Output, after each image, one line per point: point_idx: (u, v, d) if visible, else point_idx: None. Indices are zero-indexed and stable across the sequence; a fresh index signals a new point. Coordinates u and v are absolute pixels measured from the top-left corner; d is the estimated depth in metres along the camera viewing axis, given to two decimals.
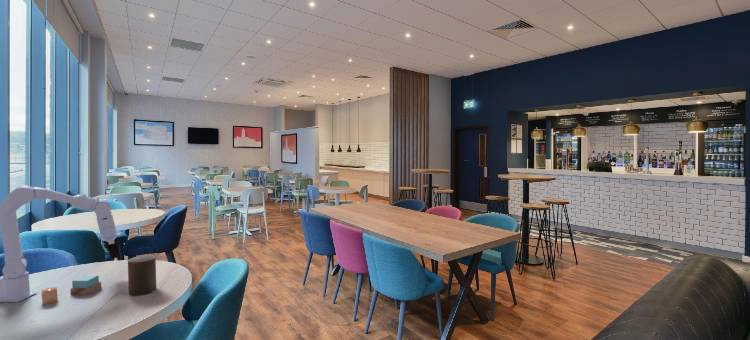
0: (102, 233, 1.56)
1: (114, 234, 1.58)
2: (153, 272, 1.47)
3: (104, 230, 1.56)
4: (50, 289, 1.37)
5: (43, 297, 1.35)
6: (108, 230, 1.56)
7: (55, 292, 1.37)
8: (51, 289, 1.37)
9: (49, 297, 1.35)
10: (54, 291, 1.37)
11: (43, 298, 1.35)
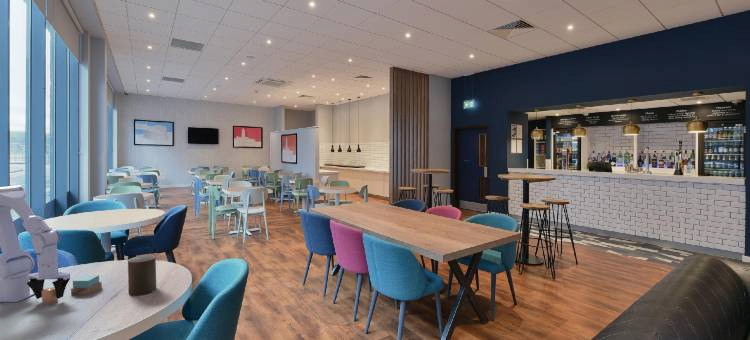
0: None
1: (38, 274, 1.34)
2: (153, 272, 1.47)
3: None
4: (50, 289, 1.37)
5: (43, 297, 1.35)
6: None
7: (55, 292, 1.37)
8: (51, 289, 1.37)
9: (49, 297, 1.35)
10: (54, 291, 1.37)
11: (43, 298, 1.35)
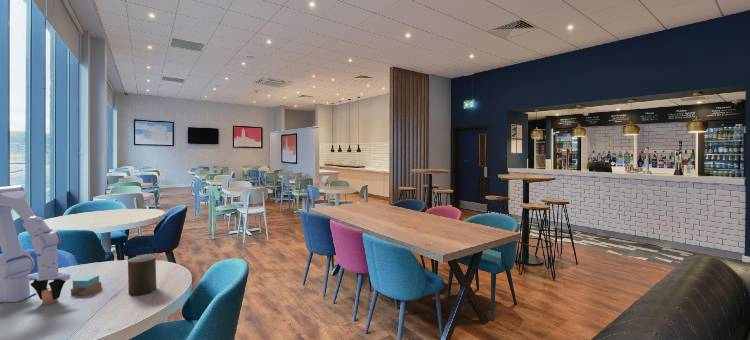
0: None
1: (38, 275, 1.34)
2: (153, 272, 1.47)
3: None
4: (50, 289, 1.37)
5: (43, 297, 1.35)
6: None
7: None
8: None
9: (49, 297, 1.35)
10: None
11: (43, 298, 1.35)
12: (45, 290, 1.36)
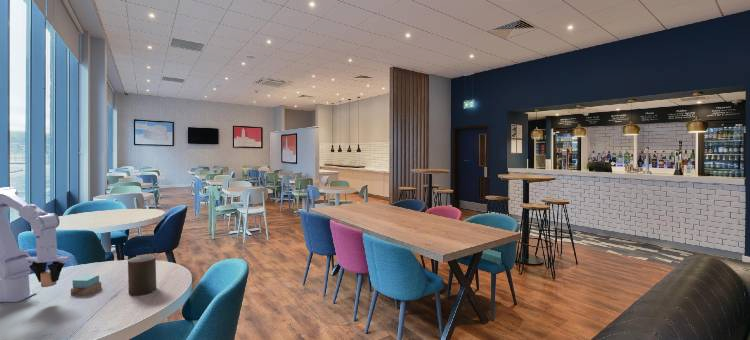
0: None
1: (37, 257, 1.34)
2: (153, 272, 1.47)
3: None
4: (49, 272, 1.36)
5: (42, 279, 1.34)
6: None
7: None
8: None
9: (47, 280, 1.35)
10: None
11: (42, 280, 1.34)
12: (44, 273, 1.35)
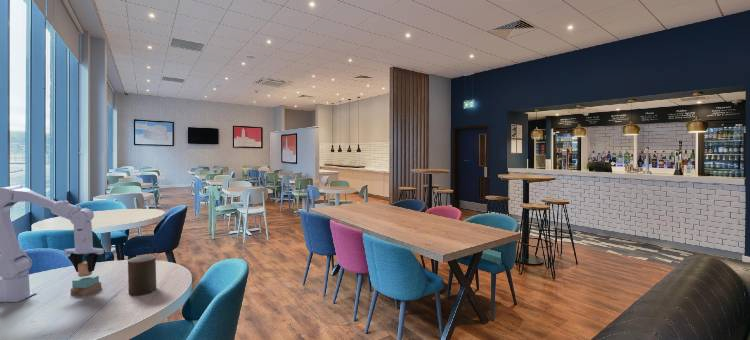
0: None
1: (75, 248, 1.44)
2: (153, 272, 1.47)
3: None
4: (85, 262, 1.46)
5: (79, 269, 1.44)
6: None
7: None
8: (86, 262, 1.46)
9: (84, 270, 1.45)
10: None
11: (79, 270, 1.44)
12: (81, 263, 1.45)
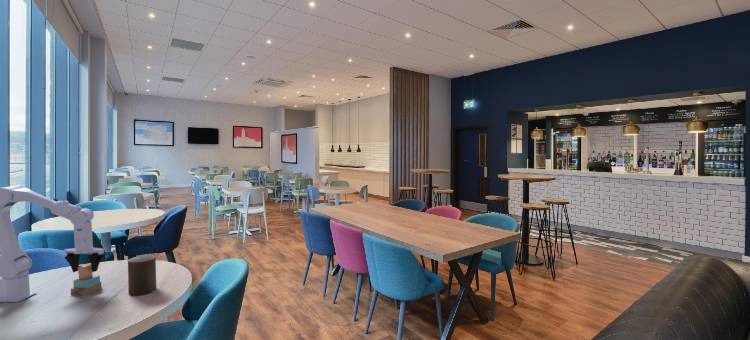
0: None
1: (75, 248, 1.44)
2: (153, 272, 1.47)
3: None
4: (85, 266, 1.46)
5: (79, 273, 1.44)
6: None
7: (90, 268, 1.46)
8: (86, 266, 1.46)
9: (84, 273, 1.45)
10: (89, 267, 1.46)
11: (79, 274, 1.44)
12: (81, 267, 1.45)
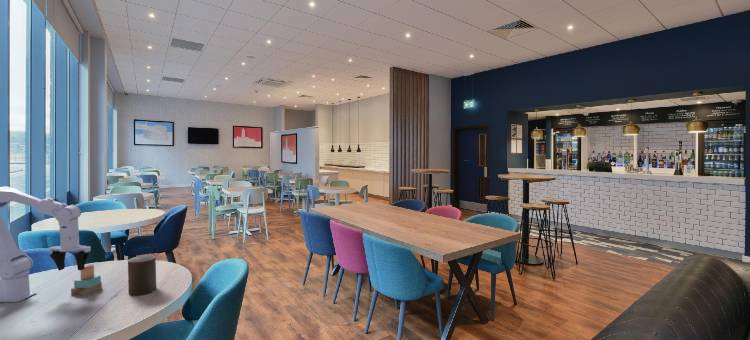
0: None
1: (60, 246, 1.41)
2: (153, 272, 1.47)
3: None
4: (88, 266, 1.47)
5: (81, 272, 1.45)
6: None
7: (91, 269, 1.46)
8: (88, 266, 1.46)
9: (85, 273, 1.45)
10: (90, 268, 1.46)
11: (81, 273, 1.45)
12: None
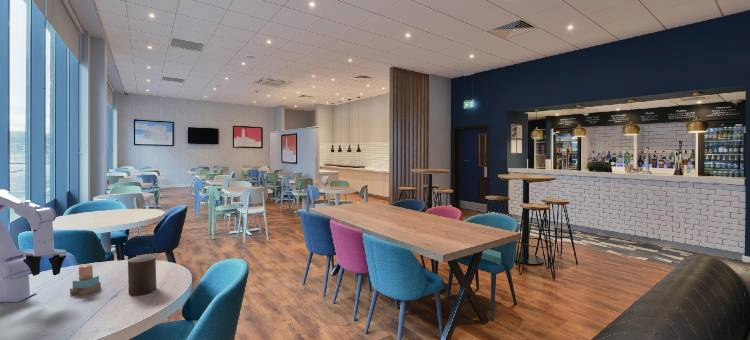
0: None
1: (34, 250, 1.35)
2: (153, 272, 1.47)
3: None
4: (86, 266, 1.46)
5: (79, 273, 1.45)
6: None
7: (89, 269, 1.46)
8: (87, 266, 1.46)
9: (83, 274, 1.45)
10: (88, 268, 1.46)
11: (79, 274, 1.45)
12: (81, 266, 1.46)
